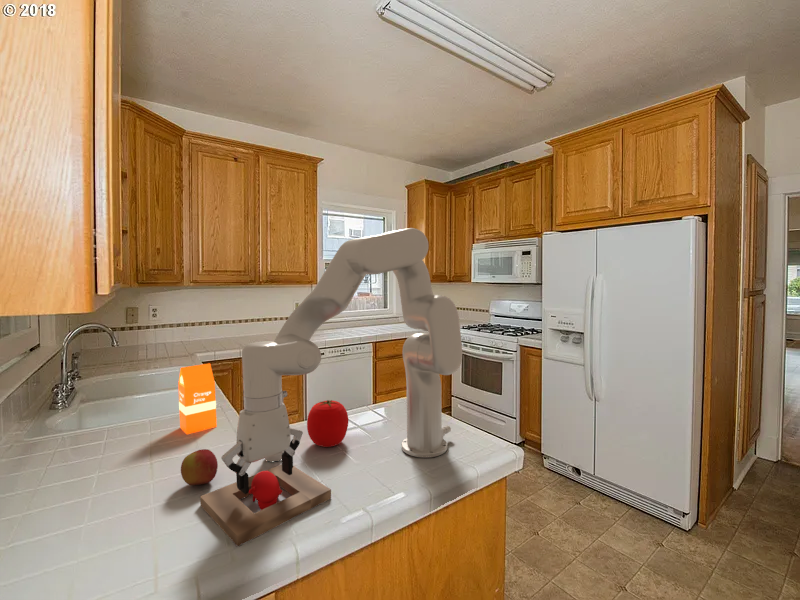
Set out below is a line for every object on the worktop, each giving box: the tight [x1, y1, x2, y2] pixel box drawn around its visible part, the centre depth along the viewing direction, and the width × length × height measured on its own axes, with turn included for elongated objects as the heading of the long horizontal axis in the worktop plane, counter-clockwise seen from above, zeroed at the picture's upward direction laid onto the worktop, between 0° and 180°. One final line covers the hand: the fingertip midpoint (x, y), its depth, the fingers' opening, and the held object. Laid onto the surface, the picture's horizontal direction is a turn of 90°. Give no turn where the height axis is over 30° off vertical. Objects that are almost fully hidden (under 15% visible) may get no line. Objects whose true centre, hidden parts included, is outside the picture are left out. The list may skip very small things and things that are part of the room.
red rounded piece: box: [249, 470, 283, 511], centre depth 80 cm, size 8×6×6 cm
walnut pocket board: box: [199, 463, 332, 547], centre depth 81 cm, size 20×18×2 cm
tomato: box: [306, 399, 349, 448], centre depth 109 cm, size 12×12×13 cm
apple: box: [180, 448, 219, 486], centre depth 88 cm, size 8×8×8 cm
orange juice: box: [177, 363, 218, 435], centre depth 122 cm, size 8×9×20 cm
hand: (266, 481), depth 81 cm, fingers open, 9 cm apart
